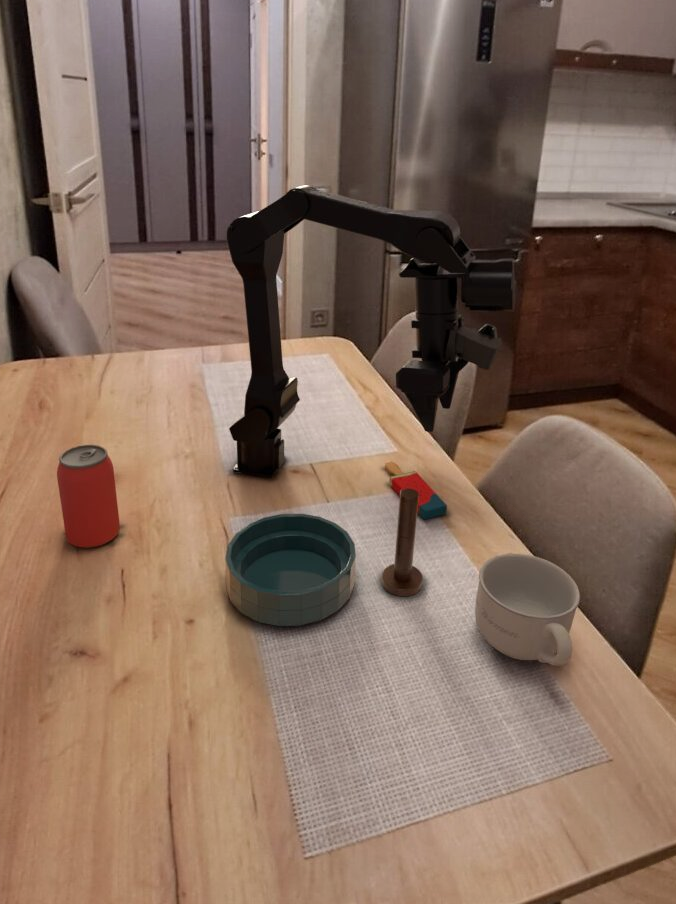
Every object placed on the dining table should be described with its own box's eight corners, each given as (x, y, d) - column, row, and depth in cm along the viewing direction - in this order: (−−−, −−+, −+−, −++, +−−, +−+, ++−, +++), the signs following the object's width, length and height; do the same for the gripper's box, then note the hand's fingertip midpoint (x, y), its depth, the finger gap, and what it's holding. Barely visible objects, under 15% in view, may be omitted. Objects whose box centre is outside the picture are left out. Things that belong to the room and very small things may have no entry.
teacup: (463, 604, 80) (470, 549, 77) (551, 603, 81) (561, 549, 78) (489, 703, 67) (499, 641, 64) (594, 700, 68) (608, 639, 65)
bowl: (205, 615, 76) (203, 579, 74) (256, 536, 89) (255, 505, 87) (334, 642, 73) (335, 606, 71) (366, 556, 87) (368, 524, 85)
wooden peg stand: (377, 592, 81) (384, 501, 76) (386, 566, 85) (392, 478, 80) (418, 599, 80) (427, 508, 75) (424, 573, 84) (433, 485, 80)
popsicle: (401, 456, 109) (450, 505, 96) (400, 464, 109) (449, 513, 97) (376, 461, 107) (422, 512, 94) (375, 469, 107) (422, 520, 95)
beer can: (131, 527, 90) (123, 448, 85) (96, 555, 84) (86, 473, 79) (91, 515, 92) (81, 438, 87) (54, 542, 86) (41, 461, 81)
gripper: (482, 329, 78) (481, 451, 83) (508, 298, 95) (506, 402, 99) (392, 325, 82) (396, 442, 86) (433, 296, 98) (434, 396, 103)
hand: (438, 419), depth 94 cm, fingers open, 9 cm apart
